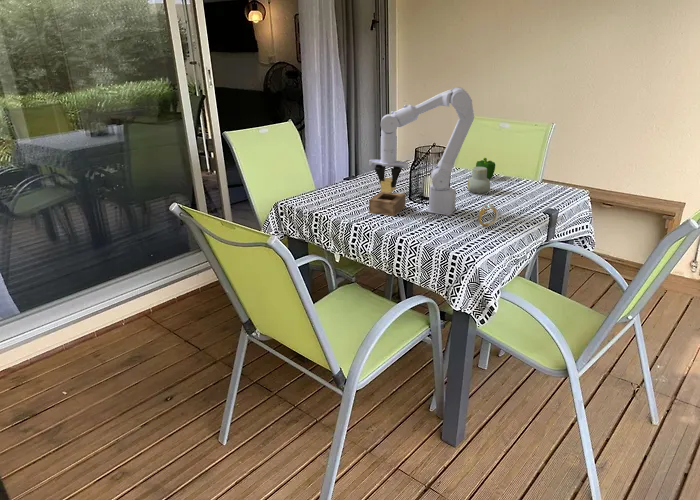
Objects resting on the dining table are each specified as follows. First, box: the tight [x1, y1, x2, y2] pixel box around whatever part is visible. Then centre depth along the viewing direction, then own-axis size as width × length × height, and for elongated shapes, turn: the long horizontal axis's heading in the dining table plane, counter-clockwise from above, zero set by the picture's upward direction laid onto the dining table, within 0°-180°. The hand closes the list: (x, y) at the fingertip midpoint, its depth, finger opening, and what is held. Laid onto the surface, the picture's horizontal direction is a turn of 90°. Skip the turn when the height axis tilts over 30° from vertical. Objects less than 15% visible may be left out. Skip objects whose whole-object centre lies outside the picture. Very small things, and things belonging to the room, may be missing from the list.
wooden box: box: [368, 191, 407, 217], centre depth 192 cm, size 10×12×5 cm
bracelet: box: [477, 203, 499, 228], centre depth 173 cm, size 7×3×8 cm, turn 99°
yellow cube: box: [380, 177, 397, 193], centre depth 189 cm, size 4×5×4 cm
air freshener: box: [467, 166, 491, 194], centre depth 210 cm, size 11×8×10 cm
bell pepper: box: [475, 157, 496, 180], centre depth 229 cm, size 8×8×10 cm
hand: (388, 186), depth 189 cm, fingers closed on yellow cube, 4 cm apart
